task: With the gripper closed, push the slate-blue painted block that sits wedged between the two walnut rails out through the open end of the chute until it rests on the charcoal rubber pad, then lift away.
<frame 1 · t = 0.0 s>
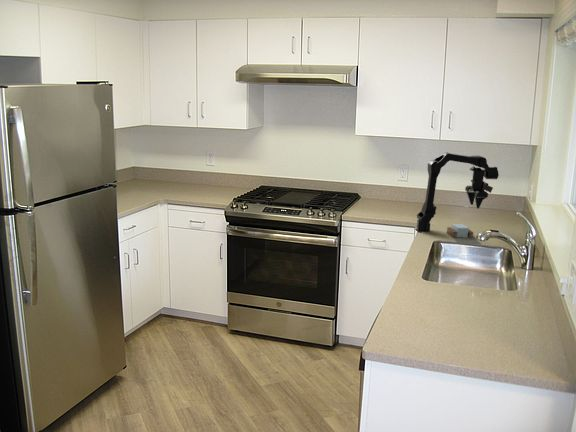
hand: (474, 206, 333), 14 cm above the worktop, fingers open, 9 cm apart
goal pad: (466, 241, 316), on the worktop
block: (459, 235, 326), resting on chute
chute: (459, 235, 327), on the worktop
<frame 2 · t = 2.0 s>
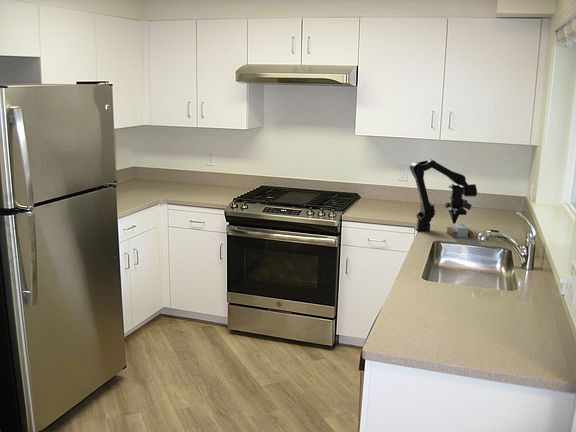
hand: (453, 223, 335), 4 cm above the worktop, fingers closed
nothing on the worktop moved.
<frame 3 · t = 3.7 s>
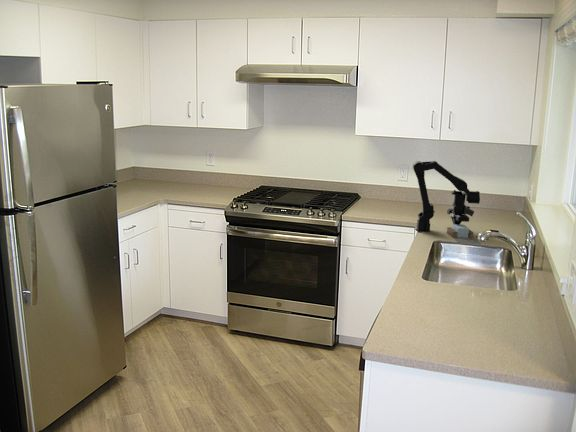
hand: (456, 230, 332), 2 cm above the worktop, fingers closed
block: (460, 235, 326), resting on chute, touching gripper
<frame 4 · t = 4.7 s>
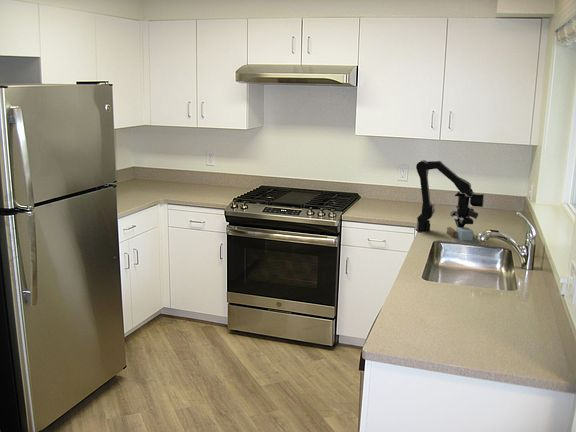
hand: (460, 232, 326), 2 cm above the worktop, fingers closed
block: (463, 238, 320), on the worktop, touching chute, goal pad, gripper
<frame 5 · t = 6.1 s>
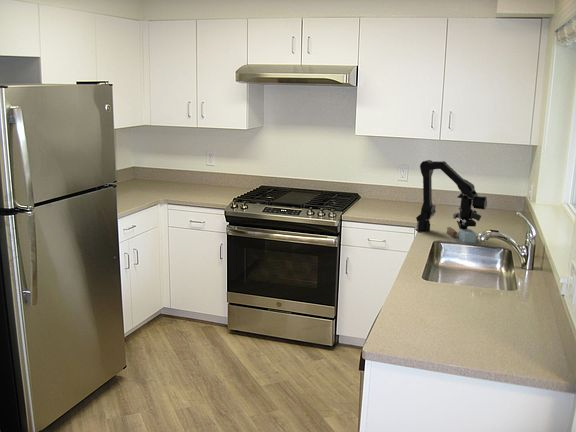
hand: (462, 234, 322), 2 cm above the worktop, fingers closed
block: (466, 240, 316), resting on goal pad, touching gripper
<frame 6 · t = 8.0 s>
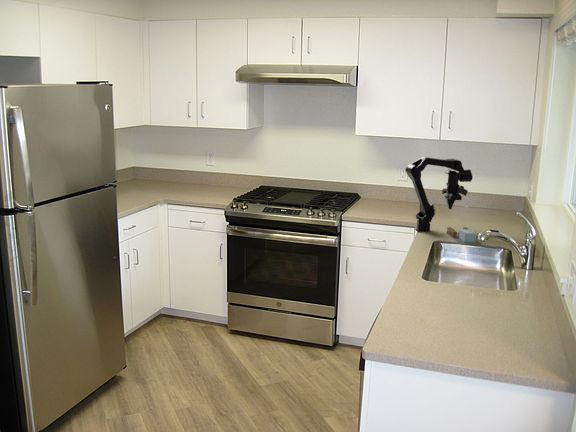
hand: (450, 209, 335), 12 cm above the worktop, fingers closed
block: (466, 240, 316), resting on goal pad
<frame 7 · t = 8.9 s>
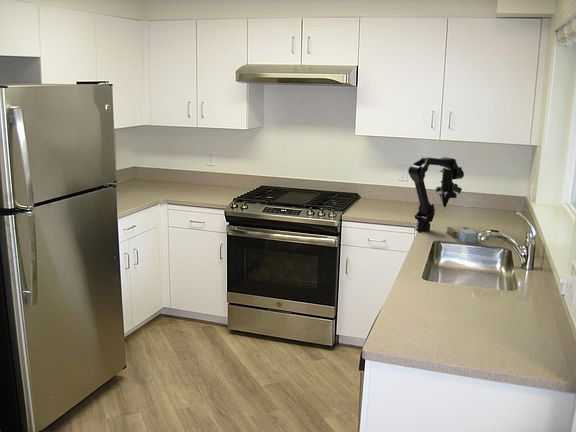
hand: (444, 207, 340), 12 cm above the worktop, fingers closed
nothing on the worktop moved.
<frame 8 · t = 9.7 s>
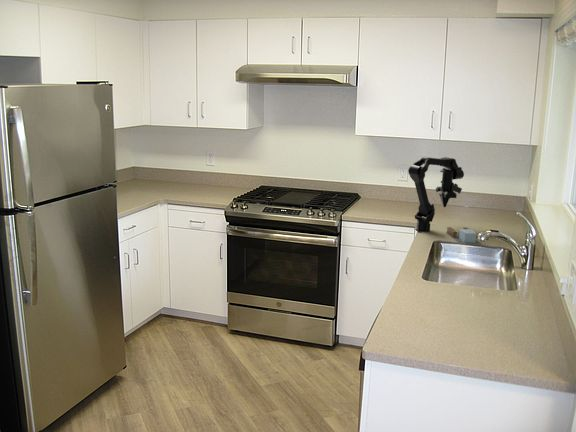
hand: (444, 207, 340), 12 cm above the worktop, fingers closed
nothing on the worktop moved.
at the end: block inside the target area on the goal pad (2.0 cm from its centre), point 0.4 cm above the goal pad's base; block tilted 0°; block moved 10.5 cm from its start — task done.
